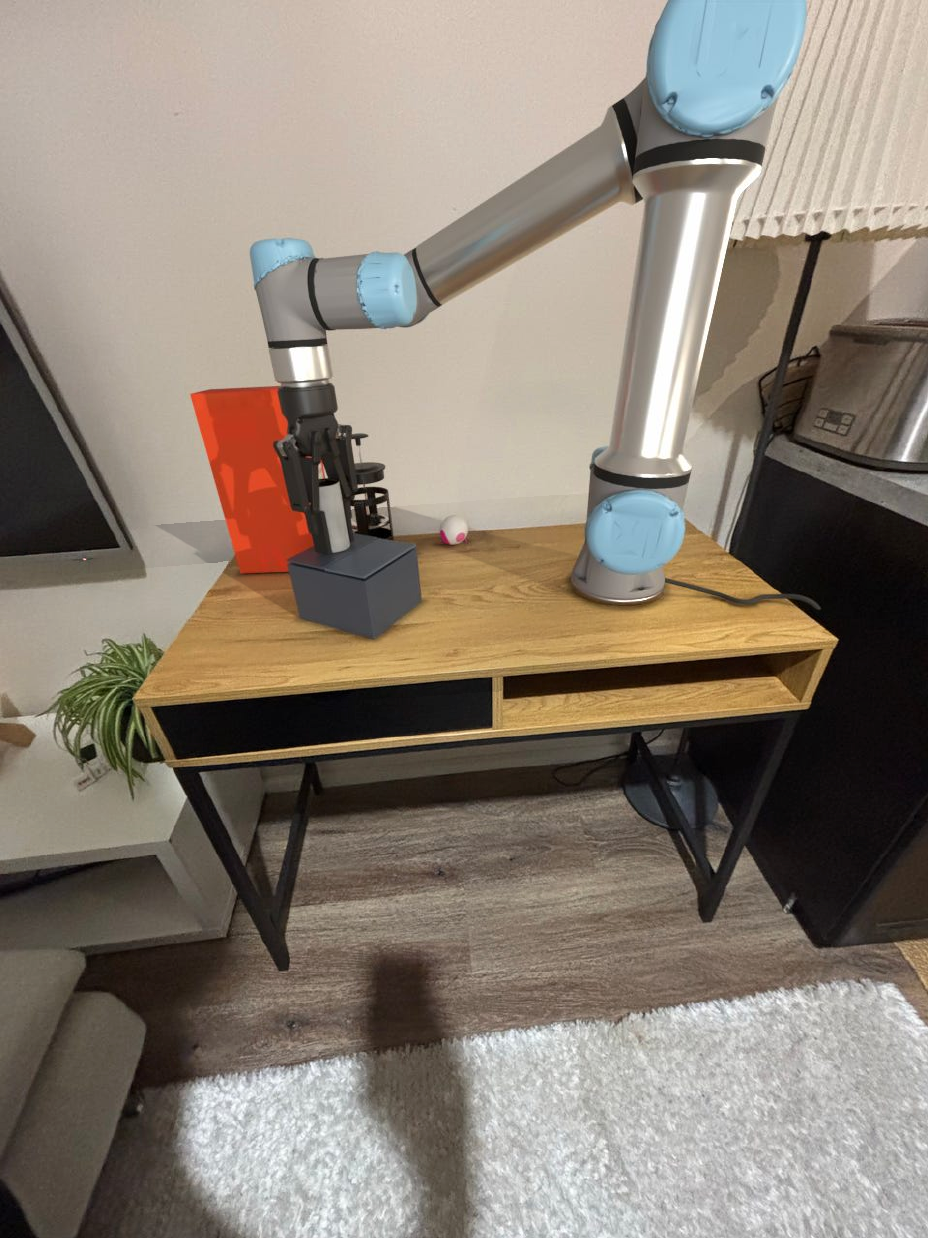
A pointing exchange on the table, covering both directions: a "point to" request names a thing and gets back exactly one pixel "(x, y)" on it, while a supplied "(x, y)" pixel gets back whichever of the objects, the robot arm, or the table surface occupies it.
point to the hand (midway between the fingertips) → (335, 545)
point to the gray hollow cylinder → (334, 513)
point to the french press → (370, 499)
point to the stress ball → (453, 530)
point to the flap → (370, 558)
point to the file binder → (252, 475)
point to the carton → (354, 590)
